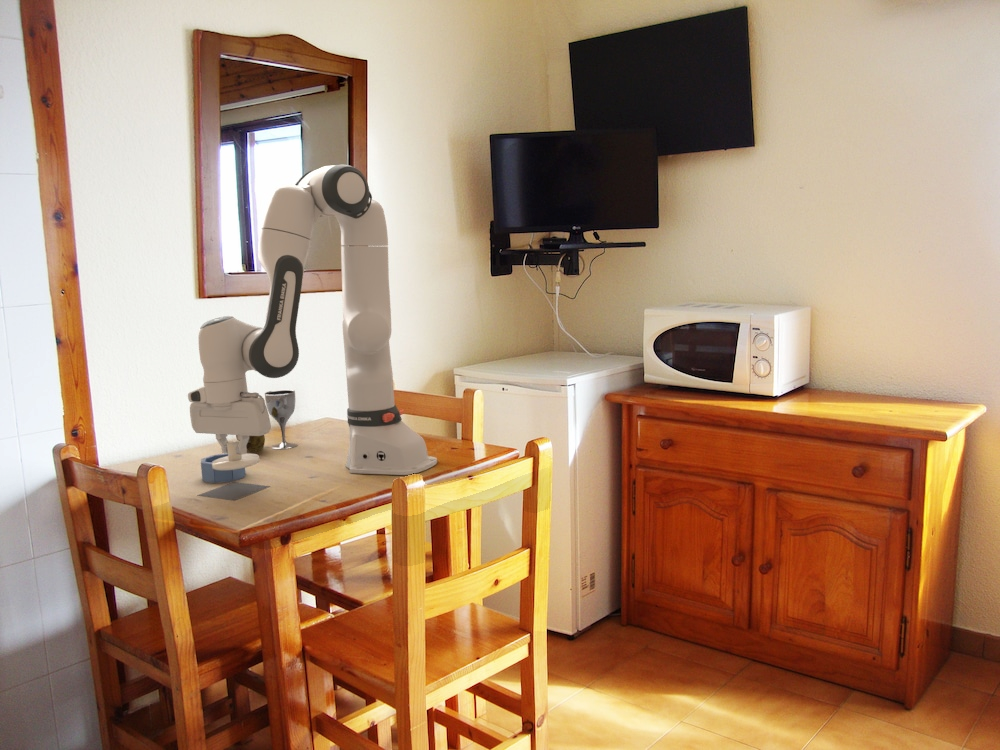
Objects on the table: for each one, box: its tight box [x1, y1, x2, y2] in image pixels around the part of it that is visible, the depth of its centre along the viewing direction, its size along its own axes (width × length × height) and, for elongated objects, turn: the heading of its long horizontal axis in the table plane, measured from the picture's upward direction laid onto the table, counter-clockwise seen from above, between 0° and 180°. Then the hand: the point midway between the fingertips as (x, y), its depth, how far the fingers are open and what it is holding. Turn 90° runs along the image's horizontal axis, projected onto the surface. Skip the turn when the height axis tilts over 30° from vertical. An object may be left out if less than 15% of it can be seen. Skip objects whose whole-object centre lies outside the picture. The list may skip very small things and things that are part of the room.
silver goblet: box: [264, 389, 299, 450], centre depth 227 cm, size 8×8×15 cm
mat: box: [197, 481, 271, 502], centre depth 184 cm, size 11×11×1 cm
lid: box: [212, 439, 260, 470], centre depth 183 cm, size 10×10×5 cm
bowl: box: [200, 453, 247, 484], centre depth 196 cm, size 10×10×5 cm
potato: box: [235, 434, 266, 452], centre depth 222 cm, size 8×13×8 cm, turn 2°
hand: (234, 453), depth 183 cm, fingers closed on lid, 3 cm apart
